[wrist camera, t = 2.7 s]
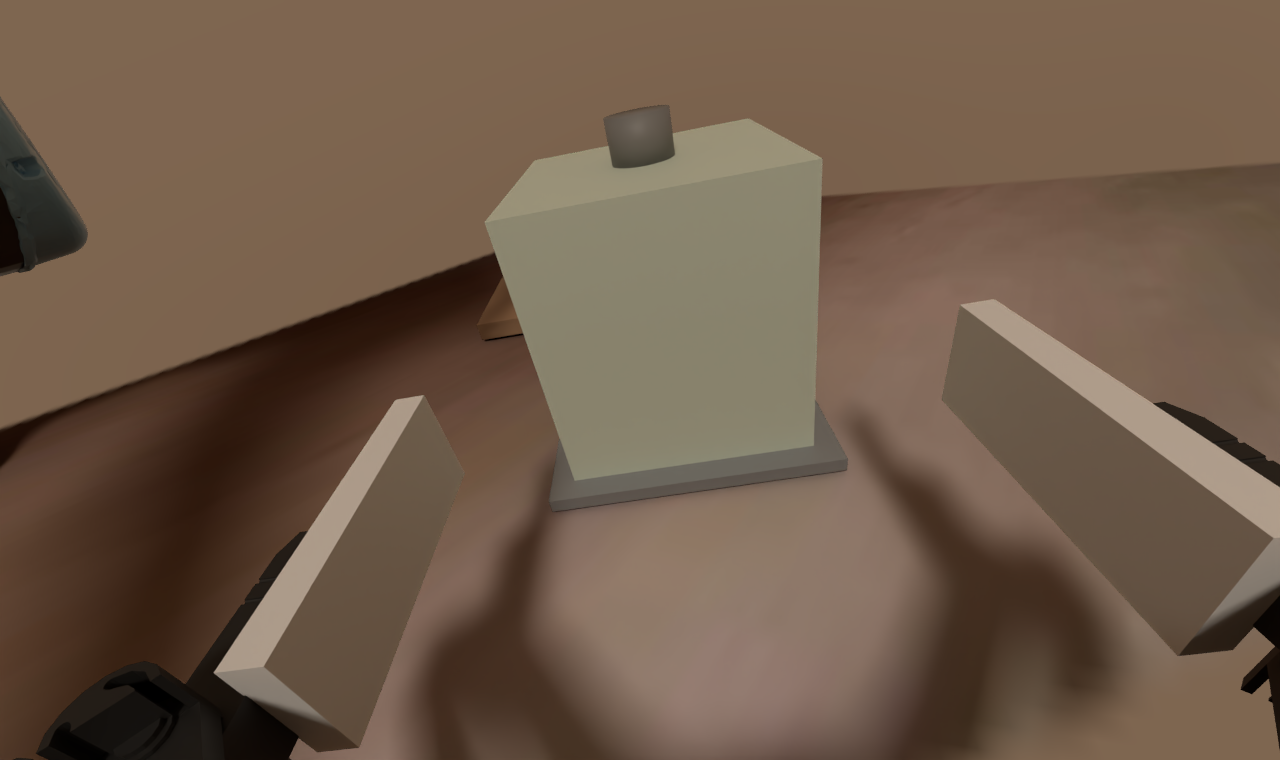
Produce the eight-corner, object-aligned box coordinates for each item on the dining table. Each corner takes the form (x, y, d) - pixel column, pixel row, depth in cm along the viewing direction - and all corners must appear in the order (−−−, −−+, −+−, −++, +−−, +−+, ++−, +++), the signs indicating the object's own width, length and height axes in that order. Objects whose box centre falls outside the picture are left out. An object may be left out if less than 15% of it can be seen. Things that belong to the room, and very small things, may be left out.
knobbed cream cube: (574, 480, 21) (465, 166, 14) (588, 358, 29) (524, 122, 22) (813, 445, 20) (824, 94, 13) (758, 330, 28) (746, 77, 21)
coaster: (552, 511, 20) (548, 502, 20) (576, 360, 30) (573, 352, 30) (847, 470, 20) (848, 458, 19) (771, 328, 29) (771, 319, 29)
